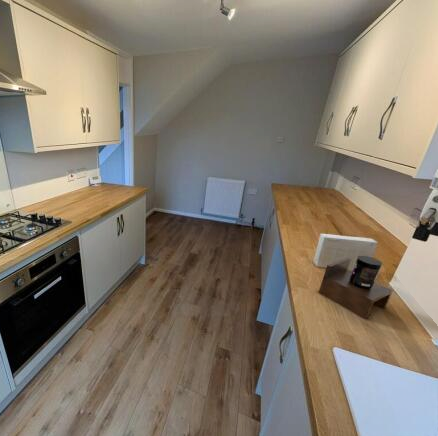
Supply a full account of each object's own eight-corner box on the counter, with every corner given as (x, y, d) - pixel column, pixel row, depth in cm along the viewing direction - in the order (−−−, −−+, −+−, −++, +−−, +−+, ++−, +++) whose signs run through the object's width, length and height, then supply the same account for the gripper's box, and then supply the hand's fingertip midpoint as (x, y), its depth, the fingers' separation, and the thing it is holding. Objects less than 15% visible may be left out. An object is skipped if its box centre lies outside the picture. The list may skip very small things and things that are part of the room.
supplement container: (365, 280, 92) (374, 256, 88) (376, 291, 85) (387, 266, 82) (345, 277, 93) (353, 254, 89) (355, 288, 87) (364, 263, 83)
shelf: (385, 307, 89) (398, 278, 84) (365, 319, 83) (378, 288, 79) (338, 284, 103) (347, 257, 98) (318, 292, 97) (327, 265, 92)
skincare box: (361, 267, 115) (372, 238, 109) (367, 273, 110) (379, 243, 105) (311, 261, 120) (320, 232, 115) (315, 266, 115) (324, 237, 110)
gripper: (458, 190, 64) (430, 247, 70) (480, 185, 70) (454, 237, 76) (419, 184, 70) (397, 237, 76) (443, 180, 77) (421, 229, 83)
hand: (425, 237), depth 76 cm, fingers open, 9 cm apart
